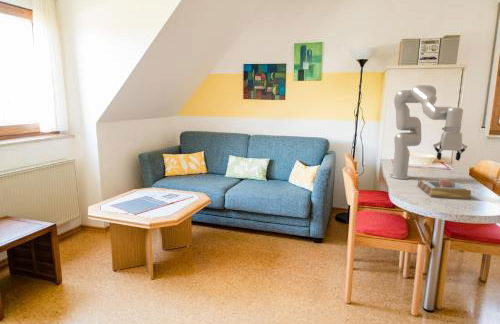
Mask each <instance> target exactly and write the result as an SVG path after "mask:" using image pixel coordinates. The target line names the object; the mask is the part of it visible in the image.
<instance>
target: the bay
mask: <svg viewBox="0 0 500 324" xmlns="http://www.w3.org/2000/svg"><path fill="white" fill-rule="evenodd" d="M452 183H455V182H454V181H452ZM416 187H418V188H419V189H420V190H421V191H422V192H423V193H425V195H428V196H429V197H430V198H440V199H442V198H443V199H457V200H458V199H459V200H460V199H461V200H470V199H471V193H472V191H471V190H470V189H467V190H459V189H440V188H430V187H429V186H427V185H426V182H423V181H422V180H418V181H417V186H416Z"/></svg>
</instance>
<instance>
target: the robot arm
mask: <svg viewBox="0 0 500 324" xmlns="http://www.w3.org/2000/svg"><path fill="white" fill-rule="evenodd" d="M436 95H437V89H436V88H435V86H433V85H429V84H427V85H426V84H421V85H420V84H418V85H415V86H414V87H413V88H412V89H408V90H407V89H405V90H399V91H398V92H396V94H395V95H394V99H393V101H394V102H393V103H394V108H395V124H396V129H397V130H399V131H404V132H398V133H397V134H395V136H394V137H393V140H394V155H393V166H392V173H390V175H389V177H390V178H393V179H397V180H408V179H410V175H408V171H409V163H410V162H409V161H410V154H411V153H410V150H409V148H408V147H417V146H419V145H420V144H422V143H421V142H422V123H421V120H420V119H419V117H417V116H411V111H410V110H411V109H410V108H409V106H408V105H407V104H421V105H422V106H421V109H422V112H423V114H424V115H425V116H426V117H428V119H430V120H434V121H445V123H444V124H445V125H444V127H442V128H441V130H442V131H443V132H442V134H441V136H440V140H439V142H437V143H435V144H433V145H432V146H433V148H434V150H435V151H436V159H437V160H439V161H441V160H442V152H443V151H454V152H456V154H455V160H456V161H458V162H459V161H460V159H461V156H462V155H461V154H463V153H464V152H465V151H466V149H467V148H468V146H467V145H466V144H464V143H463V133H462V132H461V128H462V122H463V121H462V120H463V113H464V110H463V108H462V107H452V106H436V105H435V103H436V102H437V96H436ZM405 131H409V132H405ZM438 146H439V148H438Z"/></svg>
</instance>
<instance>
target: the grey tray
mask: <svg viewBox="0 0 500 324" xmlns="http://www.w3.org/2000/svg"><path fill="white" fill-rule="evenodd" d="M425 184H426V185H427V186H429V187H430V188H440V189H459V190H468V189H467V188H466V187H464V186H462V185H461V184H459V183H457V182H454V183H452V188H446V187H439V181H431V180H426V181H425Z"/></svg>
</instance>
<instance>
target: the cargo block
mask: <svg viewBox="0 0 500 324" xmlns="http://www.w3.org/2000/svg"><path fill="white" fill-rule="evenodd" d="M438 182H439V187H446V188H452V182H453V181H452V180H450V179H441V178H440V179H438Z"/></svg>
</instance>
